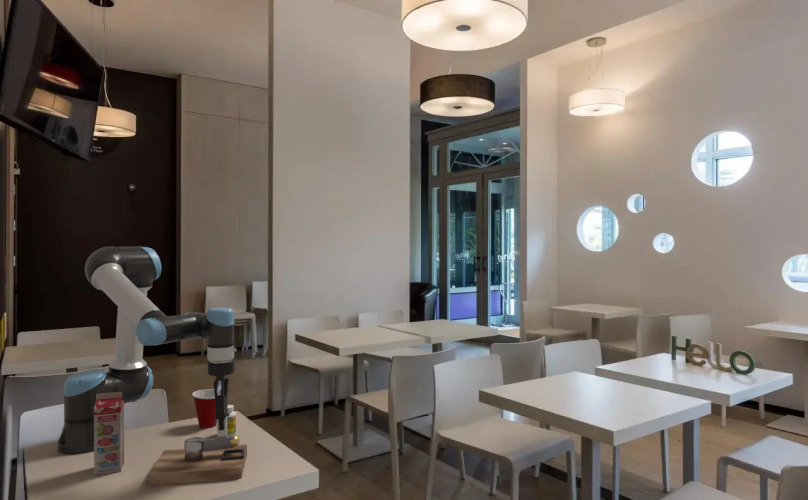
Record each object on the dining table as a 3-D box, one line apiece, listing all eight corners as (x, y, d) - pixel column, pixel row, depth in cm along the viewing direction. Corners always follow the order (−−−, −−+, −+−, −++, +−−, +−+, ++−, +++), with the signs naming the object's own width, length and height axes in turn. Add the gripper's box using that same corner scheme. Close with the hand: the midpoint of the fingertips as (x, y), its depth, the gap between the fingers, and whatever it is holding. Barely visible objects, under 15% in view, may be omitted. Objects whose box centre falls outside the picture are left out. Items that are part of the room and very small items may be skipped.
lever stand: (164, 460, 159) (164, 447, 159) (247, 453, 164) (247, 441, 164) (148, 486, 142) (148, 471, 142) (241, 477, 147) (241, 464, 147)
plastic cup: (213, 431, 185) (213, 397, 185) (185, 429, 187) (185, 395, 187) (229, 421, 195) (229, 389, 195) (203, 420, 197) (203, 387, 197)
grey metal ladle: (184, 462, 149) (184, 444, 149) (184, 455, 154) (184, 438, 154) (240, 454, 155) (240, 437, 155) (238, 448, 160) (238, 431, 160)
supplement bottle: (231, 430, 186) (231, 403, 186) (238, 434, 182) (238, 406, 182) (216, 434, 182) (216, 406, 182) (223, 438, 178) (223, 409, 178)
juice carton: (98, 466, 155) (98, 391, 155) (124, 463, 157) (123, 388, 157) (94, 475, 149) (93, 396, 149) (120, 471, 151) (120, 394, 151)
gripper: (232, 364, 151) (233, 446, 152) (236, 355, 164) (237, 431, 164) (204, 365, 150) (205, 449, 150) (211, 356, 162) (212, 433, 163)
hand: (222, 439), depth 157 cm, fingers closed
